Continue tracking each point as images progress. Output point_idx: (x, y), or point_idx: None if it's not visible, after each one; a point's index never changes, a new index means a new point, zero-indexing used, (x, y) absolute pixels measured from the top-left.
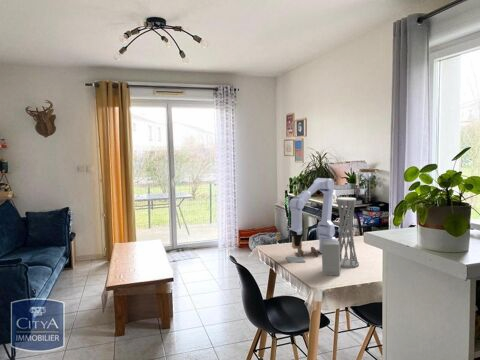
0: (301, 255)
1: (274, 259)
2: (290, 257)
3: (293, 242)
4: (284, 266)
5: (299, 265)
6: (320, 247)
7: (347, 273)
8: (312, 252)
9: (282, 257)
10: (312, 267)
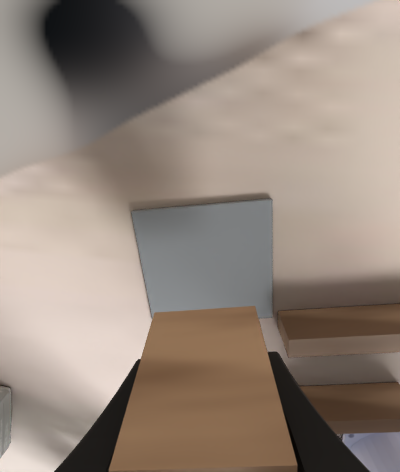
0: (280, 321)
1: (221, 81)
2: (256, 236)
3: (135, 379)
4: (28, 168)
5: (78, 279)
6: (393, 462)
7: (4, 459)
8: (355, 392)
9: (283, 167)
10: (55, 344)
